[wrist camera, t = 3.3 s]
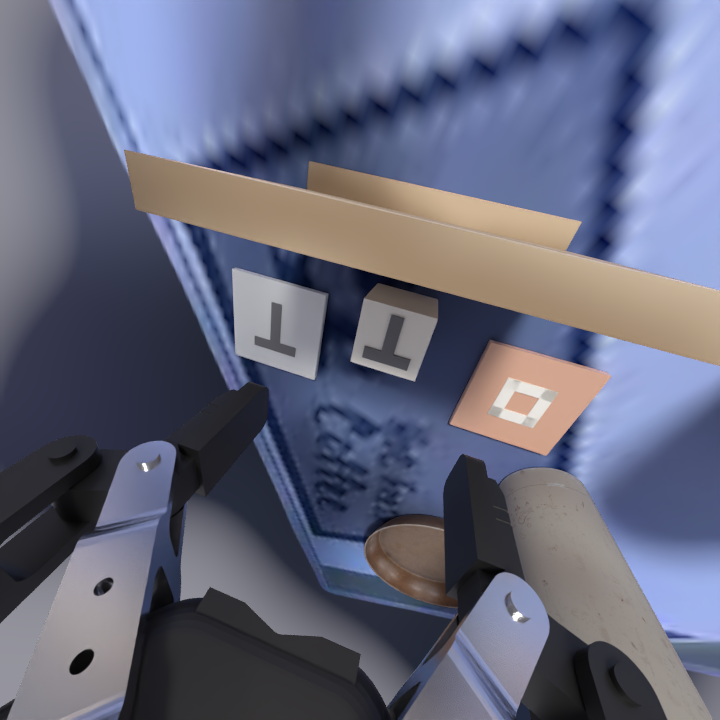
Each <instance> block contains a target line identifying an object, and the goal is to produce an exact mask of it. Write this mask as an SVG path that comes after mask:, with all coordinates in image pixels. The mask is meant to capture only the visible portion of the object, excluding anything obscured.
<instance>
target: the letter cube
mask: <svg viewBox="0 0 720 720" xmlns="http://www.w3.org/2000/svg"><path fill="white" fill-rule="evenodd" d="M437 321H438V299H435V298H432V297H428V296H424V295H421V294H417V293H413V292H410V291H406V290H402V289H399V288H395V287H391V286H388V285H384V284H380V283H377V284H376V286H375V287H374V288H373V289H372V290H371V291H370V292H369V293H368V294H367V296H366V297H365V298H364V301H363V305H362V310H361V315H360V319H359V324H358V328H357V333H356V338H355V342H354V347H353V352H352V356H351V361H350V362H353V363H357V364H360V365H363V366H366V367H369V368H373V369H376V370H379V371H382V372H385V373H389V374H392V375H395V376H398V377H401V378H405V379H408V380H411V381H414V382H415V379H416V377H417V374H418V371H419V369H420V366H421V363H422V361H423V358H424V355H425V353H426V350H427V348H428V345H429V342H430V340H431V337H432V334H433V332H434V329H435V326H436V324H437Z"/></svg>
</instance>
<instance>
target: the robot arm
mask: <svg viewBox="0 0 720 720" xmlns="http://www.w3.org/2000/svg"><path fill="white" fill-rule="evenodd" d="M268 396H269V390H268V388H267V387H265V386H262V385H259V384H256V383H253V382H248V383H246V384H245V385H244V386H243V387H242V388H241V389H240V390H238V391H236V390H231V391H228V392H226V393H224V394H221V395H219V396H218V397H217V398H216V399H214V400H213V401H212V402H211V403H210V404H209V405H207V406H206V407H205V408H203V409H202V410H201V412H198V413H197V414H196V415H195V416H193V418H191V419H190V420H189V421H187V422H186V423H185V424H184V425H182V426H181V427H180V428H179V429H177V430H176V431H175V432H174V433H172V434H171V435H170V436H169V437H168V438H166V439H165V440H164V441H152V442H148V443H144V444H141V445H139V446H137V447H135V448H133V449H132V450H130V451H124V450H106V449H99V448H98V446H97V443H96V441H95V440H94V439H93V438H91V437H89V436H83V435H76V436H69V437H64V438H61V439H58V440H55V441H52V442H50V443H48V444H46V445H44V446H43V447H41V448H40V449H38V450H37V451H34V452H33V453H31V454H30V455H28V456H26V457H25V458H23V459H22V460H20V461H18V462H17V463H15V464H13V465H12V466H10V467H9V468H7V469H5V470H4V471H2V472H1V473H0V545H1V544H2V543H3V542H4V541H5V540H6V539H7V538H8V537H9V536H11V535H12V534H13V533H14V532H16V531H17V530H18V529H20V528H21V527H22V526H23V525H25V524H26V523H27V522H28V521H30V520H31V519H32V518H33V517H35V516H36V515H37V514H38V513H40V512H41V511H42V510H43V509H45V508H46V507H47V506H49V505H50V504H51V505H52V507H51V508H50V509H49V510H48V511H46V512H45V513H44V514H42V515H41V516H40V517H39V518H37V519H36V520H35V521H34V522H32V523H31V524H30V525H29V526H27V527H26V528H25V529H24V530H22V531H21V532H20V533H19V534H17V535H16V536H15V537H14V538H12V539H11V540H10V541H9V542H7V543H6V544H5V545H4V546H2V547H1V548H0V623H1V622H2V621H3V620H4V619H5V618H6V617H7V616H8V615H9V614H10V613H11V612H12V611H13V610H14V609H15V608H16V607H17V606H18V605H19V604H20V603H21V602H22V601H23V600H24V599H25V598H26V597H27V596H29V595H30V593H32V592H33V591H34V590H35V588H37V587H38V586H39V585H40V584H41V583H42V582H43V581H44V580H45V579H46V578H47V577H48V576H49V575H50V574H51V573H52V572H53V571H54V570H55V569H56V568H57V567H58V566H59V565H60V564H61V563H62V562H63V561H64V560H65V559H66V558H67V557H68V556H69V555H70V554H71V553H72V552H73V554H72V556H71V559H70V561H69V564H68V566H67V569H66V571H65V574H64V577H63V579H62V582H61V584H60V587H59V590H58V592H57V594H56V597H55V599H54V602H53V604H52V607H51V609H50V612H49V614H48V617H47V619H46V622H45V624H44V627H43V630H42V632H41V635H40V637H39V640H38V642H37V645H36V647H35V650H34V652H33V655H32V657H31V660H30V662H29V665H28V667H27V670H26V672H25V675H24V678H23V680H22V683H21V685H20V688H19V691H18V693H17V695H16V698H15V699H13V700H12V701H10V702H9V703H7V704H6V705H4V706H2V707H1V708H0V720H516V712H517V709H518V706H519V704H520V702H522V703H523V704H524V705H525V706H526V707H528V708H529V711H530V718H531V720H667V717H666V715H665V713H664V710H663V708H662V706H661V703H660V701H659V699H658V697H657V695H656V693H655V691H654V689H653V688H652V686H651V684H650V683H649V681H648V680H647V678H646V677H645V675H644V674H643V673H642V672H641V670H640V669H639V668H638V667H637V666H636V664H635V663H634V662H633V661H632V660H631V659H630V658H629V657H628V656H627V655H626V654H624V653H623V652H622V651H621V650H619V649H618V648H616V647H615V646H613V645H611V644H610V643H607V642H604V641H595V642H593V643H591V644H589V645H588V644H586V643H585V642H584V641H582V640H581V639H580V638H578V637H577V636H575V635H574V634H573V633H571V632H570V631H569V630H567V629H566V628H565V627H563V626H562V625H561V624H559V623H558V622H557V621H555V620H554V619H553V618H552V617H551V616H549V615H548V614H547V612H546V610H545V607H544V605H543V603H542V601H541V600H540V598H539V597H538V595H537V594H536V592H535V591H534V590H533V589H532V588H531V587H530V586H529V585H528V584H527V583H526V581H525V578H524V574H523V570H522V566H521V562H520V558H519V554H518V550H517V546H516V542H515V537H514V533H513V529H512V526H511V525H510V523H511V521H510V517H509V513H507V511H508V509H507V504H506V500H505V496H504V494H503V492H502V491H501V489H500V487H499V486H498V484H497V482H496V481H495V480H493V479H490V478H488V476H487V471H486V466H485V463H484V461H482V460H479V459H476V458H473V457H470V456H467V455H464V454H462V455H461V456H460V457H459V459H458V461H457V462H456V464H455V466H454V467H453V469H452V471H451V473H450V474H449V476H448V478H447V480H446V482H445V486H444V492H443V503H444V547H445V591H446V595H447V596H449V597H452V598H454V599H457V600H458V613H457V614H456V615H455V617H454V618H453V620H452V621H451V622H450V624H449V625H448V627H447V628H446V629H445V631H444V632H443V633H442V635H441V636H440V638H439V639H438V640H437V642H436V643H435V645H434V646H433V647H432V649H431V650H430V652H429V653H428V654H427V655H426V657H425V658H424V660H423V661H422V662H421V664H420V665H419V666H418V668H417V669H416V670H415V672H414V673H413V674H412V675H411V676H410V677H409V678H408V680H407V681H406V682H405V683H404V685H403V686H402V687H401V688H400V690H399V691H398V692H397V694H396V695H395V696H394V698H393V699H392V701H391V702H390V703H389V705H388V706H387V707H386V705H385V703H384V701H383V699H382V697H381V695H380V694H379V692H378V690H377V689H376V687H375V685H374V684H373V682H372V681H371V680H370V679H369V677H368V676H367V675H366V674H365V672H364V671H363V670H361V669H360V668H359V667H358V666H359V660H360V654H359V653H357V652H355V651H352V650H350V649H348V648H345V647H343V646H341V645H339V644H336V643H334V642H332V641H330V640H328V639H325V638H323V637H315V636H298V635H281V634H277V633H275V632H274V631H273V630H272V629H271V628H270V627H269V626H268V625H267V624H266V623H265V622H264V621H263V620H262V619H261V618H260V617H259V616H258V615H257V614H256V613H255V612H254V611H253V610H252V609H251V608H250V607H249V606H248V605H247V604H246V603H244V602H242V601H240V600H238V599H235V598H233V597H230V596H229V595H226V594H224V593H222V592H220V591H217V590H215V589H213V588H211V587H210V588H209V590H208V591H207V593H206V595H205V596H204V598H192V599H186V600H182V601H180V594H181V555H182V546H183V536H184V528H185V519H186V510H187V501H188V500H189V499H190V497H191V496H192V495H193V494H194V493H196V494H199V495H201V496H204V497H206V496H207V495H208V493H209V492H210V491H211V490H212V489H213V487H214V486H215V485H216V484H217V483H218V481H219V480H220V479H221V478H222V476H223V475H224V474H225V473H226V472H227V470H228V469H229V468H230V467H231V466H232V464H233V463H234V462H235V461H236V460H237V459H238V457H239V456H240V455H241V454H242V452H243V451H244V450H245V449H246V448H247V446H248V445H249V444H250V443H251V442H252V440H253V439H254V438H255V437H256V436H257V434H258V433H259V432H260V431H261V430H262V428H263V427H264V425H265V423H266V420H267V416H268Z"/></svg>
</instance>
